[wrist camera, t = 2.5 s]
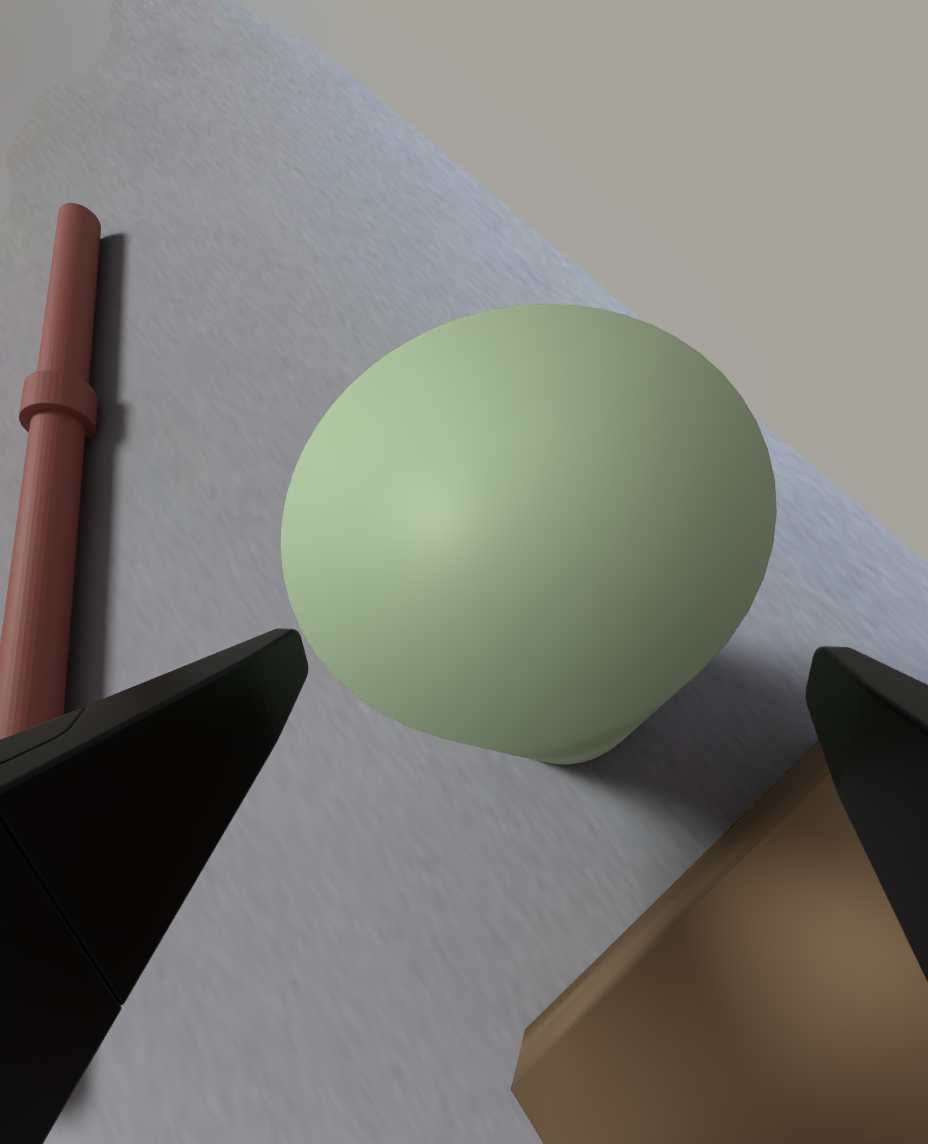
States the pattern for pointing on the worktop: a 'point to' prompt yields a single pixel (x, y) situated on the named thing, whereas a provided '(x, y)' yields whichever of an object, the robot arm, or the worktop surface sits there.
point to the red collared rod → (51, 484)
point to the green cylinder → (529, 528)
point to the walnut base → (745, 1000)
